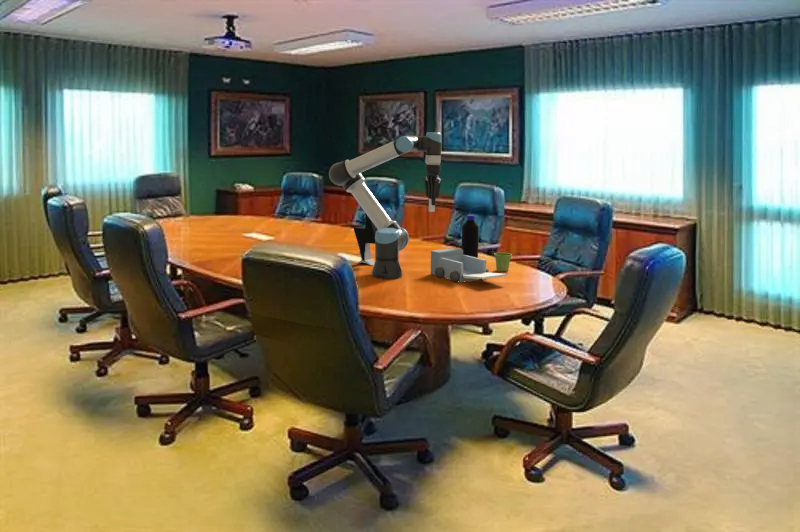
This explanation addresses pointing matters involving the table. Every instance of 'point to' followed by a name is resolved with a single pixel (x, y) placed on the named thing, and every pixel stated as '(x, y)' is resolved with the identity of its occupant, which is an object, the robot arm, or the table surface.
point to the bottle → (470, 237)
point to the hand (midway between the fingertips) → (431, 211)
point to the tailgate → (484, 275)
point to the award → (366, 240)
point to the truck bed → (455, 264)
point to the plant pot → (502, 261)
